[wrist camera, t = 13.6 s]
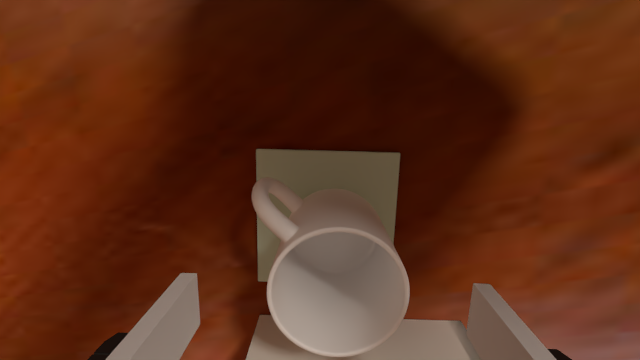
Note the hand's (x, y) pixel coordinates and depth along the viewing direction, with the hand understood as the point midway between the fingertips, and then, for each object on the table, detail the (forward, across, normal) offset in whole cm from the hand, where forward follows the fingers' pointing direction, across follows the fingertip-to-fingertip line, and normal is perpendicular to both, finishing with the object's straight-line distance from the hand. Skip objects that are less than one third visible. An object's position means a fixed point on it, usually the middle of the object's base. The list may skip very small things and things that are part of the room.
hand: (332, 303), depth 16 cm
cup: (+14, -1, 0) cm, 14 cm away
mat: (+14, 0, -1) cm, 14 cm away
